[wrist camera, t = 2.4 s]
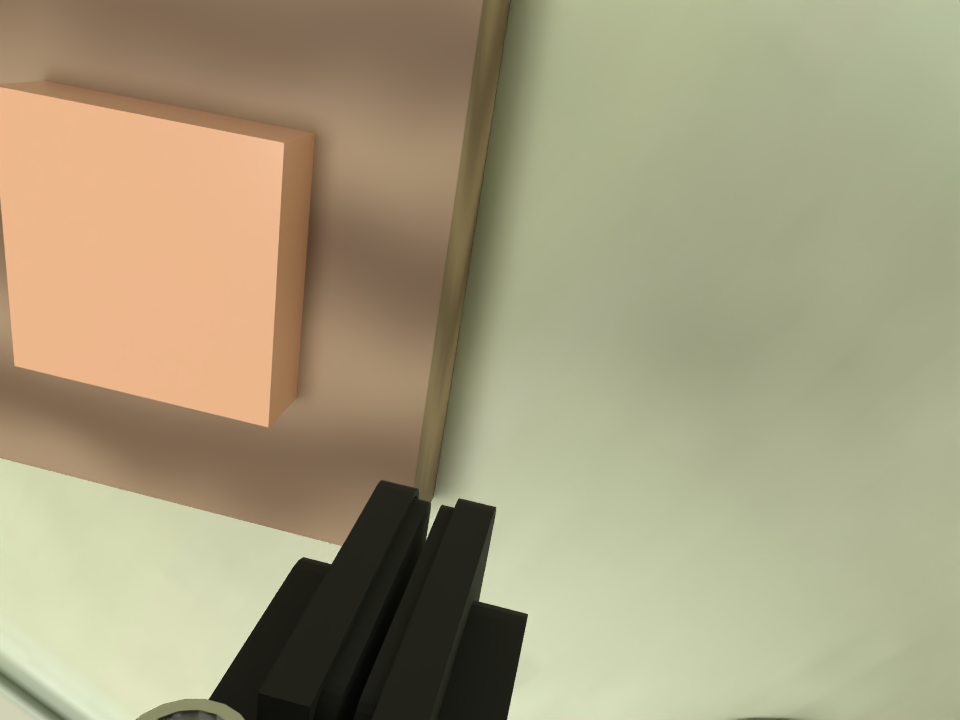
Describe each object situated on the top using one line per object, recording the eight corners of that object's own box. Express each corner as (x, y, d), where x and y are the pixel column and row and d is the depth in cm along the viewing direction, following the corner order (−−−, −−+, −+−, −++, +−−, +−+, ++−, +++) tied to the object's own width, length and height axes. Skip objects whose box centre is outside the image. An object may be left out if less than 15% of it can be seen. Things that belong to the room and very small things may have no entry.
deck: (433, 496, 30) (403, 561, 27) (41, 400, 32) (-37, 448, 28) (516, -39, 23) (490, -51, 19) (3, -122, 25) (-108, -148, 21)
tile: (296, 398, 25) (268, 427, 23) (59, 342, 26) (14, 365, 24) (315, 133, 22) (284, 142, 20) (44, 80, 23) (-10, 85, 21)
